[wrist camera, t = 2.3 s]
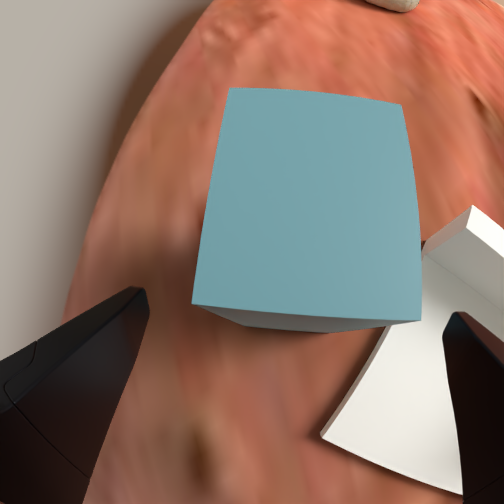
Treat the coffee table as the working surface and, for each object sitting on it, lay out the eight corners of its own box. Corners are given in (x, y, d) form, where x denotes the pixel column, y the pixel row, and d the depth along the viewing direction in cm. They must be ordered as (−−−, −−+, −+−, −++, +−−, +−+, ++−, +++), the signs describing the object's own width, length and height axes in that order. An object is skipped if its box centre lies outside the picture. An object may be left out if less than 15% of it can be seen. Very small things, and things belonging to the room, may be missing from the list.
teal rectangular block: (329, 332, 18) (421, 320, 6) (244, 325, 18) (191, 303, 6) (334, 234, 19) (400, 102, 8) (255, 227, 20) (230, 85, 8)
